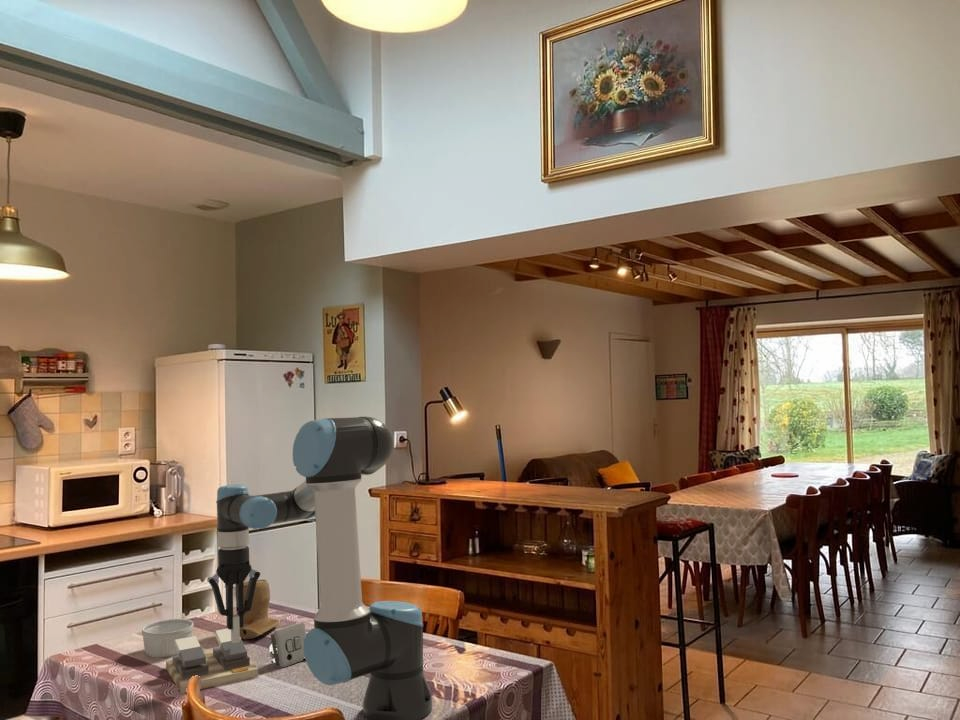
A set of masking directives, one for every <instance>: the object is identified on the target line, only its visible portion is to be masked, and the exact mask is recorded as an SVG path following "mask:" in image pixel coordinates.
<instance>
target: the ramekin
mask: <svg viewBox="0 0 960 720" xmlns="http://www.w3.org/2000/svg"><path fill="white" fill-rule="evenodd" d="M194 627H195V625H194V622H193V620H191V619H186V618H171V619H163V620H156V621H153V622H151V623H148V624H146V625H144V626H143V627H142V629H141V635H142V639H143V640H142V641H143V645H144V646H143V647H144V652H145V653H146V654H147V656H149V657H152V658H168V657H172V656H175V655H179V654H178V652H177V650H176V647H175V640H176V639H182V638H187V637H193V630H194Z"/></svg>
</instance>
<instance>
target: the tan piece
mask: <svg viewBox="0 0 960 720" xmlns="http://www.w3.org/2000/svg"><path fill="white" fill-rule="evenodd" d="M248 583H249V580H248V581H244V587H243V602H245V597H246V593H247V588H248ZM234 590H235V596H236V587H235V589H234ZM270 601H271V590H270V584H269V582H268V580H267V579H265V578H263V579H258V580H257V582H256V586H255V591H254V596H253V601H252V605H251V610H250V611H247V612H245V613H244V615H243V627H241V628H240V638H241V640H242V639H243V640H251V639H255V638H257V637H259V636H261V635H263V634H265V633H267V632H269V631H270V630H272V629H274V628H275V627H276V626H278V625H279V624H280V622H281V621H280V620H279V619H274V618H271V617H269V614H268V613H269V605H270Z"/></svg>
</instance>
